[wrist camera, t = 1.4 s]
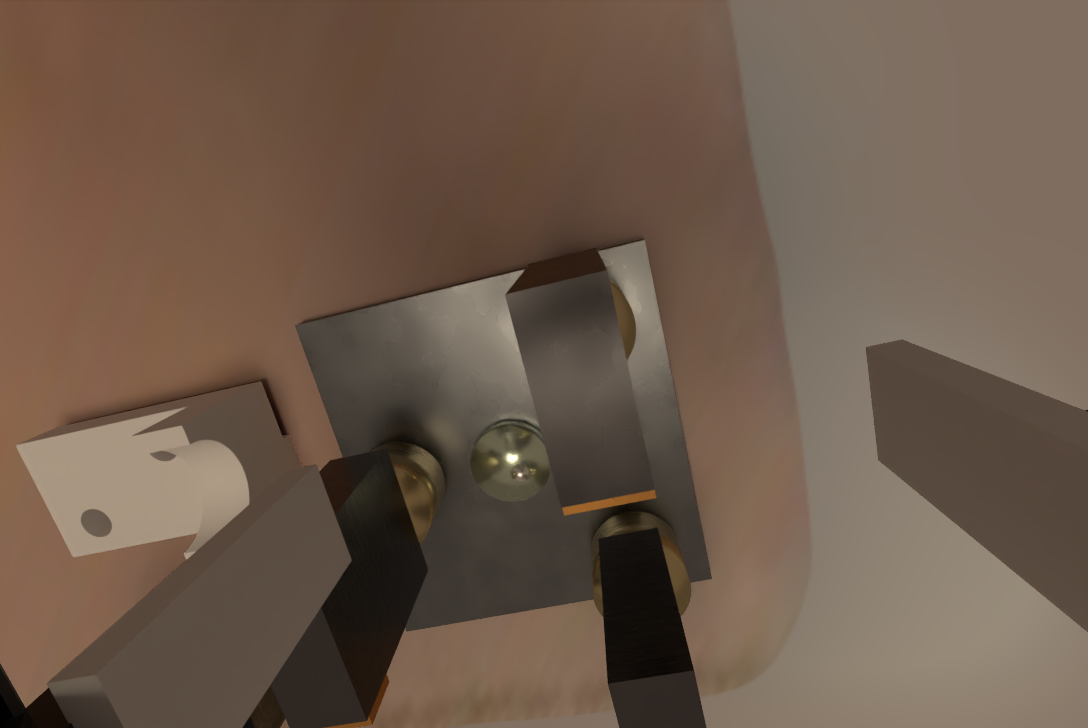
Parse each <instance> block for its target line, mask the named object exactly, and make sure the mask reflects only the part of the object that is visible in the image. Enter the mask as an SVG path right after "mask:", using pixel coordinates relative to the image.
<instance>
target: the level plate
mask: <svg viewBox="0 0 1088 728" xmlns="http://www.w3.org/2000/svg"><path fill="white" fill-rule="evenodd" d="M598 252H599V254H600V256H601V258H602V260H603V262H604V265H605V267H606V269H607V272H608V276H609V277H610V278H611V279H612V280H613V281H614V282H615V283H616V284H617V285H618V286H619V287H620V289H621V290H622V292H623V293H624V295H625V297H626V299H627V301H628V303H629V305H630V306H631V309H632V311H633V314H634V317H635V322H636V340H635V344H634V348H633V350H632V352H631V355H630V356H629V358H628V360H627V364H628V368H629V373H630V378H631V382H632V387H633V392H634V396H635V401H636V405H637V410H638V415H639V419H640V424H641V428H642V433H643V438H644V442H645V447H646V452H647V456H648V461H649V465H650V470H651V475H652V479H653V484H654V488H655V494H656V498H654V499H648V500H643V501H638V502H633V503H627V504H622V505H617V506H612V507H606V508H601V509H596V510H591V511H586V512H580V513H575V514H570V515H565V516H564V512H563V509H562V508H561V505H560V501H559V497H558V494H557V490H556V486H555V482H554V478H553V475H552V471H551V467H550V463H549V460H548V456H547V452H546V448H545V445H544V441H543V437H542V433H541V429H540V426H539V422H538V418H537V414H536V411H535V407H534V403H533V399H532V395H531V392H530V388H529V384H528V380H527V377H526V373H525V369H524V365H523V362H522V358H521V354H520V350H519V346H518V343H517V339H516V335H515V331H514V328H513V324H512V320H511V316H510V312H509V309H508V305H507V301H506V297H505V294H506V293H507V291H508V290H509V289H510V288H511V286H512V285H513V284H514V283H515V282H516V280H517V279H518V278H519V277H520V275H521V274H522V273H523V272H524V270H525V269H526V268H523V269H519V270H515V271H511V272H507V273H503V274H499V275H494V276H490V277H486V278H482V279H478V280H474V281H470V282H466V283H462V284H458V285H454V286H450V287H446V288H441V289H437V290H433V291H429V292H425V293H421V294H417V295H413V296H409V297H405V298H401V299H397V300H392V301H388V302H384V303H380V304H376V305H372V306H368V307H364V308H360V309H356V310H352V311H348V312H344V313H339V314H335V315H331V316H327V317H323V318H319V319H315V320H311V321H307V322H303V323H300V324H298V325H295V326H296V329H297V332H298V335H299V337H300V340H301V343H302V346H303V348H304V351H305V354H306V357H307V359H308V362H309V365H310V368H311V370H312V373H313V376H314V379H315V381H316V384H317V387H318V390H319V392H320V395H321V398H322V401H323V403H324V406H325V409H326V412H327V414H328V417H329V420H330V423H331V425H332V428H333V431H334V434H335V436H336V439H337V442H338V444H339V447H340V450H341V453H342V455H343V458H344V457H349V456H354V455H358V454H363V453H368V452H371V451H372V450H373V449H375V448H377V447H378V446H380V445H383V444H386V443H390V442H406V443H411V444H414V445H417V446H419V447H421V448H423V449H424V450H426V451H427V452H428V453H430V454H431V455H432V456H433V457H434V458H435V459H436V461H437V462H438V463H439V465H440V467H441V468H442V471H443V473H444V477H445V494H444V497H443V500H442V502H441V504H440V506H439V508H438V511H437V513H436V515H435V517H434V519H433V522H432V524H431V526H430V528H429V530H428V533H427V535H426V537H425V539H424V540H423V542H422V543H421V545H420V547H421V549H422V552H423V555H424V558H425V561H426V564H427V567H428V572H427V575H426V577H425V580H424V582H423V585H422V587H421V590H420V592H419V595H418V597H417V599H416V602H415V604H414V607H413V609H412V612H411V614H410V617H409V619H408V622H407V624H406V627H405V628H406V631H412V630H418V629H424V628H430V627H435V626H441V625H447V624H453V623H458V622H464V621H470V620H476V619H482V618H487V617H493V616H499V615H505V614H511V613H516V612H522V611H528V610H534V609H539V608H545V607H551V606H557V605H563V604H568V603H574V602H580V601H586V600H592V599H594V598H593V583H592V559H591V545H592V540H593V537H594V535H595V533H596V531H597V530H598V528H599V527H600V526H601V525H602V524H603V523H604V522H605V521H606V520H608V519H609V518H611V517H613V516H615V515H617V514H620V513H624V512H630V511H640V512H646V513H650V514H653V515H655V516H657V517H659V518H661V519H662V520H664V521H665V522H666V523H667V524H668V525H669V526H670V527H671V528H672V530H673V531H674V533H675V535H676V538H677V541H678V544H679V548H680V551H681V554H682V557H683V561H684V564H685V567H686V571H687V574H688V577H689V581H690V582H696V581H702V580H707V579H712V578H711V572H710V567H709V562H708V557H707V552H706V547H705V542H704V537H703V532H702V527H701V522H700V517H699V512H698V507H697V502H696V496H695V491H694V486H693V481H692V476H691V471H690V466H689V461H688V456H687V451H686V446H685V441H684V436H683V431H682V425H681V420H680V415H679V410H678V405H677V400H676V395H675V390H674V385H673V380H672V375H671V370H670V365H669V360H668V355H667V349H666V344H665V339H664V334H663V329H662V324H661V319H660V314H659V309H658V304H657V299H656V294H655V289H654V284H653V278H652V273H651V268H650V263H649V258H648V253H647V248H646V243H645V240H644V239H641V240H637V241H633V242H629V243H625V244H621V245H617V246H613V247H609V248H605V249H601V250H598Z"/></svg>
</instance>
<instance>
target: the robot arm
mask: <svg viewBox="0 0 1088 728" xmlns="http://www.w3.org/2000/svg"><path fill="white" fill-rule="evenodd" d="M866 354H867V362H868V371H869V380H870V389H871V398H872V407H873V416H874V425H875V434H876V443H877V452H878V460H879V461H880V462H881V463H882V464H884V465H885V466H886V467H887V468H889V469H890V470H891V471H892V472H894V473H895V474H896V475H897V476H898V477H900V478H901V479H902V480H904V482H906V483H907V484H908V485H909V486H911V487H912V488H913V489H914V490H915V491H917V492H918V493H919V494H920V495H921V496H923V497H924V498H925V499H927V500H928V501H929V502H930V503H931V504H932V505H934V506H935V507H936V508H937V509H939V510H940V511H941V512H942V513H943V514H945V515H946V516H947V517H948V518H949V519H951V520H952V521H953V522H954V523H956V524H957V525H958V526H959V527H960V528H962V529H963V530H964V531H965V532H966V533H968V534H969V535H970V536H971V537H973V538H974V539H975V540H976V541H977V542H979V543H980V544H981V545H982V546H984V547H985V548H986V549H987V550H988V551H990V552H991V553H992V554H993V555H995V556H996V557H997V558H998V559H999V560H1001V561H1002V562H1003V563H1004V564H1006V565H1007V566H1008V567H1009V568H1010V569H1012V570H1013V571H1014V572H1015V573H1016V574H1018V575H1019V576H1020V577H1021V578H1022V579H1024V580H1025V581H1026V582H1027V583H1029V584H1030V585H1031V586H1032V587H1034V588H1035V589H1036V590H1037V591H1038V592H1040V593H1041V594H1042V595H1043V596H1045V597H1046V598H1047V599H1048V600H1049V601H1050V602H1052V603H1053V604H1054V605H1056V606H1057V607H1058V608H1059V609H1060V610H1061V611H1063V612H1064V613H1065V614H1066V615H1067V616H1069V617H1070V618H1071V619H1072V620H1074V621H1075V622H1076V623H1077V624H1079V625H1080V626H1081V627H1082V628H1083V629H1085V630H1086V631H1087V632H1088V410H1082V409H1079V408H1077V407H1074V406H1071V405H1069V404H1066V403H1064V402H1061V401H1059V400H1056V399H1054V398H1051V397H1048V396H1045V395H1043V394H1041V393H1038V392H1036V391H1033V390H1030V389H1027V388H1025V387H1023V386H1020V385H1018V384H1015V383H1012V382H1010V381H1007V380H1005V379H1002V378H999V377H997V376H994V375H992V374H989V373H987V372H984V371H982V370H979V369H977V368H974V367H971V366H969V365H966V364H964V363H961V362H958V361H956V360H953V359H951V358H948V357H946V356H943V355H940V354H938V353H935V352H933V351H930V350H928V349H925V348H922V347H920V346H917V345H915V344H912V343H910V342H907V341H904V340H897V341H893V342H888V343H883V344H879V345H874V346H870V347H866ZM351 561H352V560H351V557H350V554H349V551H348V549H347V546H346V543H345V541H344V538H343V535H342V533H341V530H340V527H339V524H338V522H337V519H336V516H335V514H334V511H333V508H332V506H331V503H330V500H329V497H328V495H327V492H326V489H325V487H324V484H323V481H322V479H321V476H320V473H319V470H318V468H317V465H316V464H315V465H310V466H306V467H301V468H296V469H292V470H288V471H286V472H285V473H284V474H283V475H282V476H281V477H280V478H279V479H277V480H276V481H275V482H274V483H273V484H272V485H271V486H269V487H268V488H267V489H266V490H265V491H264V492H263V493H262V494H260V495H259V496H258V497H257V498H256V499H255V500H254V501H253V502H251V503H250V504H249V505H248V506H247V507H246V508H245V509H243V510H242V511H241V512H240V513H239V514H238V515H237V516H236V517H234V518H233V519H232V520H231V521H230V522H229V523H228V524H226V525H225V526H224V527H223V528H222V529H221V530H220V531H219V532H217V533H216V534H215V535H214V536H213V537H212V538H211V539H210V540H208V541H207V542H206V543H205V544H204V545H203V546H202V547H200V548H199V549H198V550H197V551H196V552H195V553H194V554H193V555H191V556H190V557H189V558H188V559H187V560H186V561H185V562H183V563H182V564H181V565H180V566H179V567H178V568H177V569H176V570H174V571H173V572H172V573H171V574H170V575H169V576H168V577H167V578H165V579H164V580H163V581H162V582H161V583H160V584H159V585H157V586H156V587H155V588H154V589H153V590H152V591H151V592H150V593H148V594H147V595H146V596H145V597H144V598H143V599H142V600H140V601H139V602H138V603H137V604H136V605H135V606H134V607H133V608H131V609H130V610H129V611H128V612H127V613H126V614H125V615H124V616H122V617H121V618H120V619H119V620H118V621H117V622H116V623H114V624H113V625H112V626H111V627H110V628H109V629H108V630H107V631H105V632H104V633H103V634H102V635H101V636H100V637H99V638H97V639H96V640H95V641H94V642H93V643H92V644H91V645H90V646H88V647H87V648H86V649H85V650H84V651H83V652H82V653H81V654H79V655H78V656H77V657H76V658H75V659H74V660H73V661H71V662H70V663H69V664H68V665H67V666H66V667H65V668H64V669H62V670H61V671H60V672H59V673H58V674H57V675H56V676H54V677H53V678H52V679H51V680H50V681H49V682H48V683H47V685H48V687H49V688H48V689H47V690H46V691H45V692H43V693H42V694H41V695H40V696H39V697H38V698H37V699H36V700H35V701H33V702H32V703H31V704H30V705H29V706H28V707H27V708H25V706H24V704H23V703H22V701H21V699H20V697H19V696H18V694H17V692H16V690H15V689H14V687H13V685H12V683H11V682H10V680H9V678H8V676H7V675H6V673H5V671H4V669H3V667H2V666H1V664H0V728H242V727H243V726H244V724H245V723H246V721H247V720H248V718H249V717H250V715H251V714H252V712H253V711H254V709H255V708H256V706H257V705H258V703H259V701H260V700H261V698H262V697H263V695H264V694H265V692H266V691H267V689H268V688H269V686H270V685H271V683H272V682H273V680H274V679H275V677H276V675H277V674H278V672H279V671H280V669H281V668H282V666H283V665H284V663H285V662H286V660H287V659H288V657H289V656H290V654H291V652H292V651H293V649H294V648H295V646H296V645H297V643H298V642H299V640H300V639H301V637H302V636H303V634H304V633H305V631H306V630H307V628H308V626H309V625H310V623H311V622H312V620H313V619H314V617H315V616H316V614H317V613H318V611H319V610H320V608H321V607H322V605H323V604H324V602H325V600H326V599H327V597H328V596H329V594H330V593H331V591H332V590H333V588H334V587H335V585H336V584H337V582H338V581H339V579H340V578H341V576H342V574H343V573H344V571H345V570H346V568H347V567H348V565H349V564H350V562H351Z"/></svg>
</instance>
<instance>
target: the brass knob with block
mask: <svg viewBox="0 0 1088 728" xmlns="http://www.w3.org/2000/svg"><path fill="white" fill-rule="evenodd" d="M591 559H592V583H593V598H594V602H595V605H596V607H597V609H598V611H599V612H600V613H601V615H602V616H603V617H604V632H605V647H606V662H607V677H608V686H609V690H610V694H611V697H612V701H613V705H614V709H615V712H616V716H617V720H618V724H619V727H620V728H706V724H705V719H704V715H703V711H702V705H701V701H700V696H699V692H698V687H697V682H696V678H695V673H694V669H693V665H692V661H691V657H690V653H689V649H688V645H687V641H686V637H685V633H684V629H683V625H682V621H681V616H682V614H683V613H684V612H685V610H686V608H687V606H688V604H689V601H690V597H691V585H690V581H689V577H688V574H687V571H686V567H685V564H684V561H683V557H682V554H681V551H680V548H679V544H678V541H677V538H676V535H675V533H674V531H673V530H672V528H671V527H670V526H669V525H668V524H667V523H666V522H665V521H664V520H662V519H661V518H659V517H657V516H655V515H653V514H650V513H646V512H640V511H630V512H624V513H620V514H617V515H615V516H613V517H611V518H609V519H608V520H606V521H605V522H604V523H603V524H602V525H601V526H600V527H599V528H598V530H597V531H596V533H595V535H594V537H593V540H592V545H591Z"/></svg>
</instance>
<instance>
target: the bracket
mask: <svg viewBox="0 0 1088 728" xmlns="http://www.w3.org/2000/svg"><path fill="white" fill-rule="evenodd" d="M16 447H17V449H18V451H19V453H20V455H21V457H22V459H23V461H24V463H25V465H26V467H27V469H28V471H29V472H30V474H31V476H32V478H33V480H34V482H35V484H36V486H37V488H38V490H39V492H40V494H41V496H42V498H43V500H44V502H45V504H46V506H47V507H48V509H49V511H50V513H51V515H52V517H53V519H54V521H55V523H56V525H57V527H58V529H59V531H60V533H61V535H62V537H63V539H64V541H65V542H66V544H67V546H68V548H69V550H70V552H71V554H72V556H73V557H78V556H84V555H89V554H94V553H99V552H104V551H109V550H114V549H119V548H124V547H130V546H135V545H140V544H145V543H150V542H155V541H160V540H165V539H170V538H176V537H181V536H186V535H191V534H196V533H197V536H196V538H195V539H194V541H193V543H192V544H191V546H190V547H189V548H188V549H187V550H186V551H185V552H184V553H183V554H184V556H185V558H186V560H187V559H188V558H189V557H190V556H191V555H193V554H194V553H195V552H196V551H197V550H198V549H199V548H200V547H202V546H203V545H204V544H205V543H206V542H207V541H208V540H210V539H211V538H212V537H213V536H214V535H215V534H216V533H217V532H219V531H220V530H221V529H222V528H223V527H224V526H225V525H226V524H228V523H229V522H230V521H231V520H232V519H233V518H234V517H236V516H237V515H238V514H239V513H240V512H241V511H242V510H243V509H245V508H246V507H247V506H248V505H249V504H250V503H251V502H253V501H254V500H255V499H256V498H257V497H258V496H259V495H260V494H262V493H263V492H264V491H265V490H266V489H267V488H268V487H269V486H271V485H272V484H273V483H274V482H275V481H276V480H277V479H279V478H280V477H281V476H282V475H283V474H284V473H285V472H286V471H288V470H292V469H296V468H301V464H300V462H299V459H298V456H297V454H296V451H295V449H294V446H293V443H292V441H291V438H290V435H289V434H288V435H283V436H282V434H281V432H280V429H279V426H278V424H277V421H276V418H275V416H274V413H273V411H272V408H271V405H270V403H269V400H268V398H267V395H266V392H265V390H264V387H263V385H262V382H261V381H260V382H255V383H251V384H246V385H242V386H238V387H233V388H229V389H224V390H220V391H215V392H211V393H207V394H202V395H198V396H193V397H189V398H185V399H180V400H176V401H171V402H167V403H162V404H158V405H154V406H149V407H145V408H140V409H136V410H131V411H127V412H123V413H118V414H114V415H109V416H105V417H101V418H96V419H92V420H87V421H83V422H78V423H74V424H70V425H65V426H61V427H57V428H55V429H52V430H50V431H48V432H45V433H43V434H41V435H38V436H36V437H34V438H31V439H29V440H27V441H24V442H22V443H20V444H17V445H16Z"/></svg>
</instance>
